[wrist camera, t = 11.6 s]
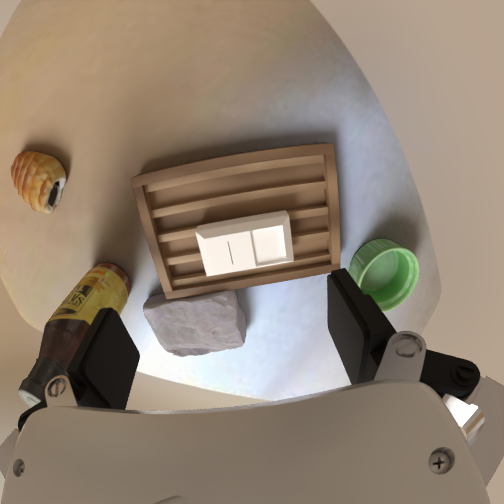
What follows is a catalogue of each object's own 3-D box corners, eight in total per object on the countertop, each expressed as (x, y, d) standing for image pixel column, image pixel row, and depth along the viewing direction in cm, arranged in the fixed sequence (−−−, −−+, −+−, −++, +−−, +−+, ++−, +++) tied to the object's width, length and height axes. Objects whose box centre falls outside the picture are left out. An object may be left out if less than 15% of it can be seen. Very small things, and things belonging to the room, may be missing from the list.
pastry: (14, 184, 25) (-3, 190, 21) (27, 137, 23) (9, 140, 19) (58, 214, 27) (41, 224, 24) (74, 165, 25) (56, 170, 22)
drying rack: (138, 174, 26) (130, 178, 24) (325, 142, 26) (333, 143, 24) (170, 288, 32) (166, 299, 30) (333, 261, 32) (340, 270, 30)
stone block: (250, 323, 37) (232, 271, 32) (253, 351, 34) (233, 301, 28) (173, 336, 38) (142, 289, 32) (170, 362, 34) (134, 318, 28)
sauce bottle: (109, 250, 29) (17, 370, 11) (142, 288, 32) (83, 424, 14) (81, 276, 31) (1, 386, 12) (111, 310, 33) (54, 430, 15)
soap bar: (197, 225, 27) (194, 234, 25) (285, 210, 27) (290, 217, 25) (208, 268, 29) (206, 280, 27) (290, 254, 29) (295, 265, 27)
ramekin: (357, 306, 35) (369, 325, 31) (333, 257, 32) (346, 275, 28) (408, 272, 34) (424, 288, 30) (391, 220, 30) (411, 233, 26)
